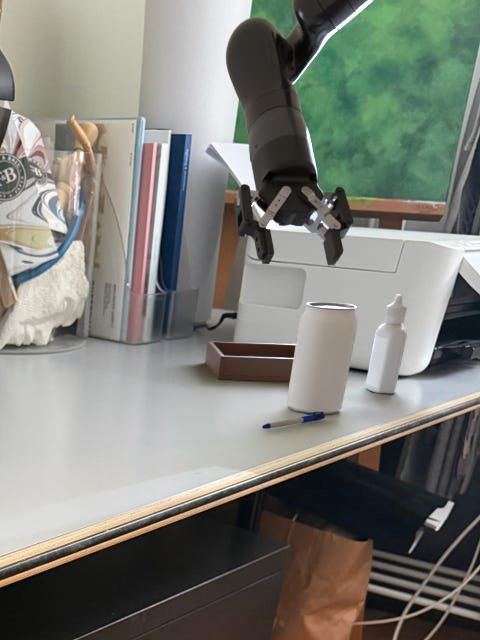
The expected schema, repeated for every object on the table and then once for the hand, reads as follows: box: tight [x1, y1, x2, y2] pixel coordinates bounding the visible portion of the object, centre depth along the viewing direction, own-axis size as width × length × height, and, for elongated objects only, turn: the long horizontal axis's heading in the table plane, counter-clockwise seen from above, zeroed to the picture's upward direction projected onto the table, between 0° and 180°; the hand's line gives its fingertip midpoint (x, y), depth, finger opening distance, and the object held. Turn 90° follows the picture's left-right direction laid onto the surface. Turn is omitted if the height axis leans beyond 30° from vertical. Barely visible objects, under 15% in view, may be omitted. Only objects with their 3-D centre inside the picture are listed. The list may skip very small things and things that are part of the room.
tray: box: [204, 340, 296, 383], centre depth 133 cm, size 14×12×3 cm
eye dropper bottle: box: [365, 293, 408, 394], centre depth 122 cm, size 4×6×12 cm
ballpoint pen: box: [261, 412, 326, 430], centre depth 106 cm, size 10×1×1 cm, turn 127°
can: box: [286, 301, 359, 416], centre depth 111 cm, size 6×6×12 cm
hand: (301, 260), depth 115 cm, fingers open, 8 cm apart
